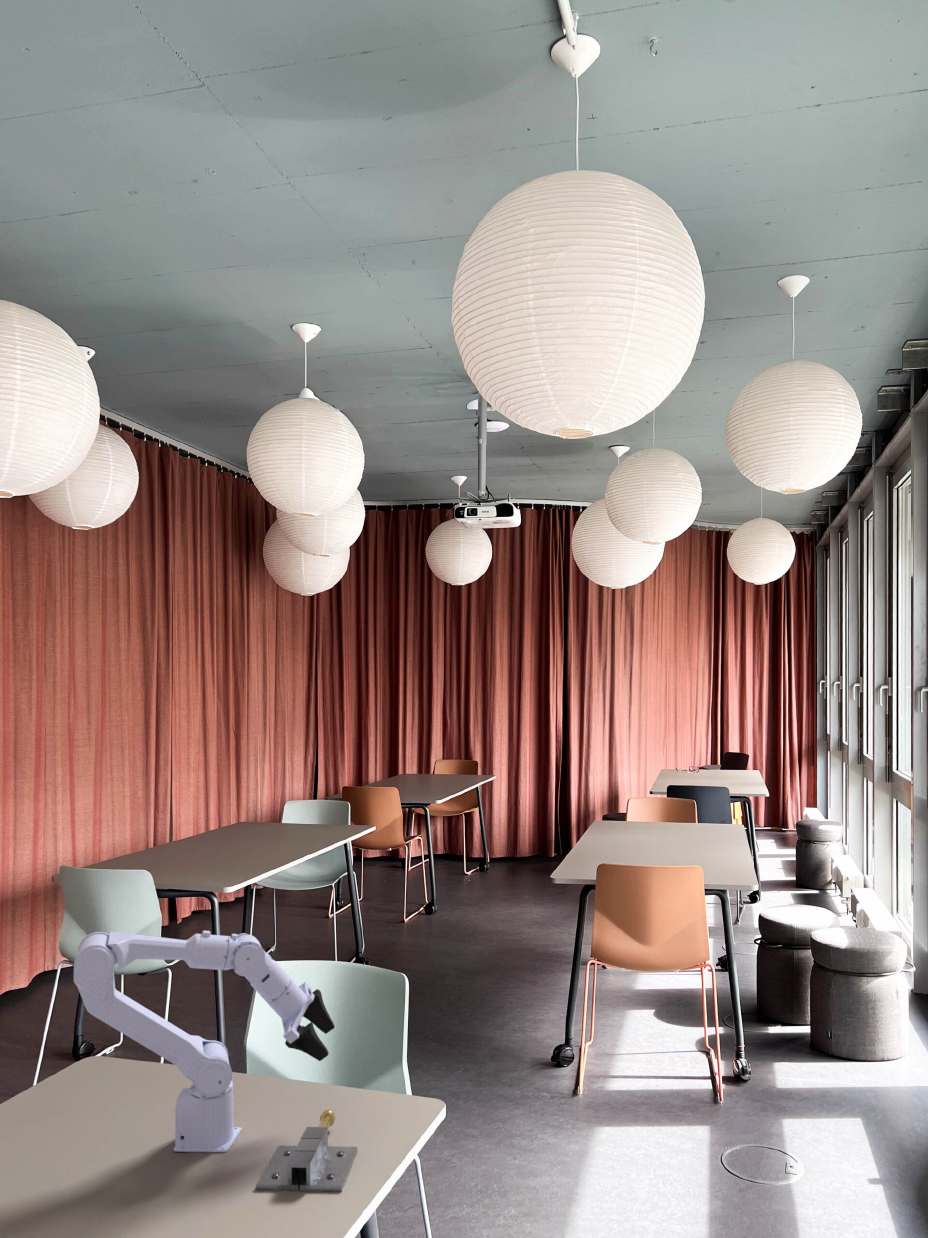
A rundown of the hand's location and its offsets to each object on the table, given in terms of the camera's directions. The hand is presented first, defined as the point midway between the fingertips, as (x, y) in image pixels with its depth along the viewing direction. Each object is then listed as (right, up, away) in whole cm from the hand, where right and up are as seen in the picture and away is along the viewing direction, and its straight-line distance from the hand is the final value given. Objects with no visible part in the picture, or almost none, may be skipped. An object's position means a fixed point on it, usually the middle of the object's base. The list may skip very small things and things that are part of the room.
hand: (327, 1043), depth 168 cm
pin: (0, -12, -11) cm, 17 cm away
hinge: (0, -12, -18) cm, 22 cm away
